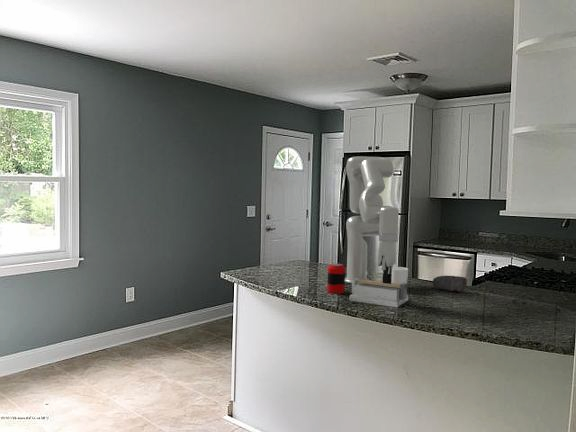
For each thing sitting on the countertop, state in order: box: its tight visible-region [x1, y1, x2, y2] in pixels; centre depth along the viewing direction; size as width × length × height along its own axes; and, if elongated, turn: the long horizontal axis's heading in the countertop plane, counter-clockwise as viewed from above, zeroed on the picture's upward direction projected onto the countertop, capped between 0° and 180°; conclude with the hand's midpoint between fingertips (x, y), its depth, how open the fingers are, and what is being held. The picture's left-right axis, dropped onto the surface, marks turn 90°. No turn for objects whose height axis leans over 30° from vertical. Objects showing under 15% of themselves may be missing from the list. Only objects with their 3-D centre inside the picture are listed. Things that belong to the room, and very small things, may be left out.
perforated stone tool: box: [431, 275, 468, 293], centre depth 222 cm, size 15×5×7 cm, turn 54°
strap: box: [356, 279, 401, 287], centre depth 201 cm, size 4×18×1 cm, turn 60°
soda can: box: [326, 263, 346, 295], centre depth 215 cm, size 8×8×12 cm
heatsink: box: [349, 278, 409, 308], centre depth 201 cm, size 14×22×8 cm, turn 60°
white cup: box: [391, 266, 409, 284], centre depth 220 cm, size 8×8×10 cm
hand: (387, 283), depth 199 cm, fingers closed
